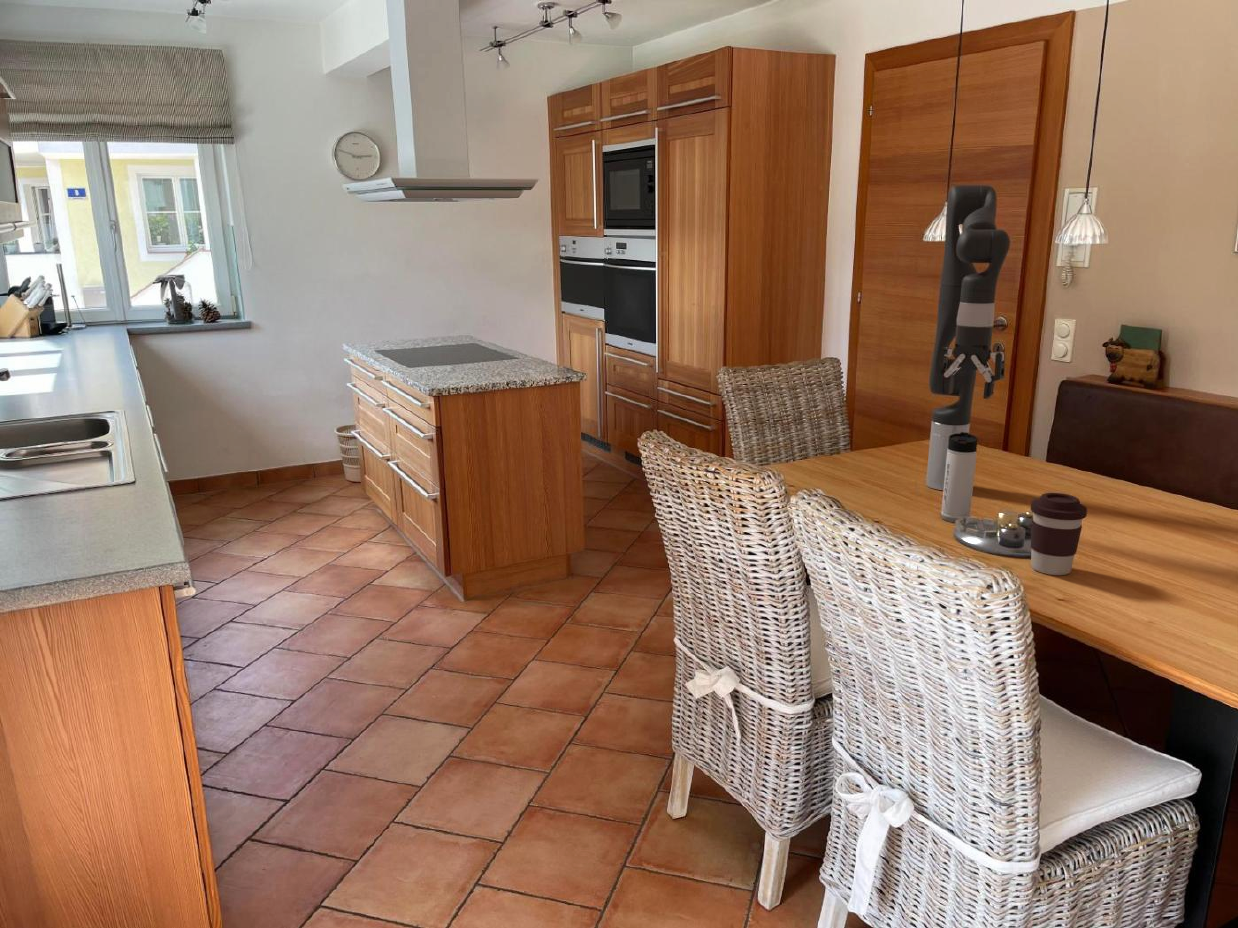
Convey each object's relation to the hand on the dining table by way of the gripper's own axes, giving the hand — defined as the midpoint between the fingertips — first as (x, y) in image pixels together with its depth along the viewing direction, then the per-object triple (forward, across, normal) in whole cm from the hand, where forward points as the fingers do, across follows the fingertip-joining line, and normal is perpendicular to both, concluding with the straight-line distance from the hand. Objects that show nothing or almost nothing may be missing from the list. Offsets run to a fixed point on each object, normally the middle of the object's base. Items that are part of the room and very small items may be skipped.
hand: (967, 396), depth 202 cm
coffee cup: (+29, -27, +18) cm, 44 cm away
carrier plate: (+29, -14, +7) cm, 33 cm away
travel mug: (+29, 0, 0) cm, 29 cm away
